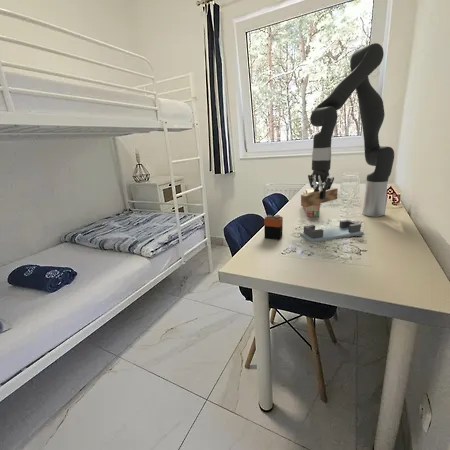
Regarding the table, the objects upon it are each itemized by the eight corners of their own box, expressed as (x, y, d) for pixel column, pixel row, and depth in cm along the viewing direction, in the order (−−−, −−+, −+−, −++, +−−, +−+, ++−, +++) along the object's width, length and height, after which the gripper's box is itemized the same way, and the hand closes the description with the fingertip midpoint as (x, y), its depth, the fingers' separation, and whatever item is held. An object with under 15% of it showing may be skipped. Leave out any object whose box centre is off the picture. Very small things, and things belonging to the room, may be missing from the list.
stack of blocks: (302, 206, 152) (303, 185, 148) (313, 206, 151) (314, 185, 147) (307, 216, 132) (308, 193, 128) (319, 216, 131) (321, 193, 127)
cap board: (348, 227, 114) (349, 218, 112) (363, 233, 105) (364, 224, 104) (300, 234, 109) (300, 225, 108) (311, 242, 101) (312, 232, 99)
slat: (332, 198, 118) (332, 187, 116) (337, 199, 115) (337, 188, 113) (301, 205, 112) (300, 194, 110) (305, 207, 109) (305, 195, 107)
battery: (279, 240, 105) (280, 217, 101) (264, 238, 108) (263, 216, 104) (282, 236, 108) (282, 214, 105) (267, 234, 111) (267, 213, 108)
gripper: (303, 158, 112) (302, 197, 117) (327, 160, 99) (324, 202, 105) (316, 157, 114) (314, 194, 120) (341, 158, 102) (338, 200, 108)
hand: (319, 198), depth 113 cm, fingers closed on slat, 3 cm apart
